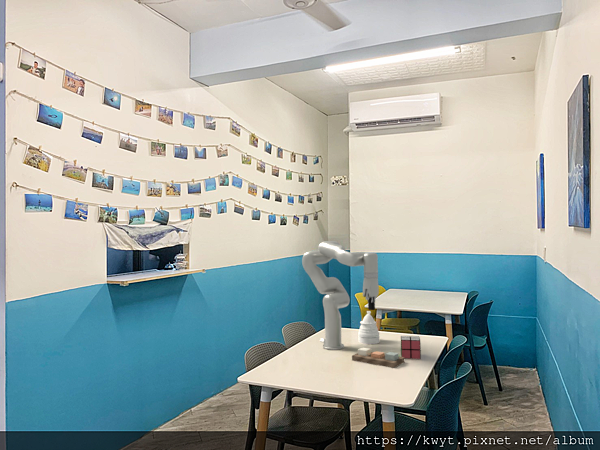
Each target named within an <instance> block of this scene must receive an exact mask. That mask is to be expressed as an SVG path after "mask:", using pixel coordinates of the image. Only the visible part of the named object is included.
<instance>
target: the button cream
mask: <svg viewBox="0 0 600 450" xmlns="http://www.w3.org/2000/svg"><path fill="white" fill-rule="evenodd" d="M371 352H372V348H370V347H369V348H368V347H360V348H358V349H357V353H358V355H362V356H368V355H371Z"/></svg>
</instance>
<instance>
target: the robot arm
mask: <svg viewBox="0 0 600 450" xmlns="http://www.w3.org/2000/svg"><path fill="white" fill-rule="evenodd" d="M378 256H379V255H378V254H377V253H375V252H364V251H361V252H359V251H358V252H350V251H346V248H345V246H344V245H341V244H340V243H339V242H338V241H336V240H324V241H322V242H320V243H319V245H318V248H317V250H310V251H307V252H305V253H303V256H302V259H301V263H302V267H303V269H304V271H305V273H306V274H307V275H308V276H309V278H310V280H311V281H312V283H313V285H314V287H315V288H316V290H317V291H318V293H319V294H321V295H324V296H323V298H322V306H323V312H324V338H323V337H321V338H320V340H319V342H320V343H323V345H322V349H325V350H329V351H331V350H332V351H333V350H334V351H336V350H343V349H344V348H345V344H344V343H342V315H341V313H340V311H339V310H340V309H343V308H346V307H348V306H349V304H350V301H351V300H350V299H351V298H350V296H349V294H348V292H347V290H346V288H345V287H344V286H343V285H344V284H342V282H341V281H340V280H339V279H338V278H337V277H334V276H331V277H328V276H326V275H325V273H324V270H322V268H321V267H319V266H317V265H323V264H324V265H325V264H327V263H329V262H330V261H331V260H333V259H334V260H336V261H338V262H339V263H340V264H342V265H346V266H348V267H363V282H362V297H363V298H365V300H366V301H367V307H368V308H367V309H368V311H374V310H376V299H377V298H378V296H379V291H380V289H379V279H378V278H379V266H378V265H379V263H378V261H379V259H378Z"/></svg>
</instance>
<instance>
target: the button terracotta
mask: <svg viewBox="0 0 600 450" xmlns="http://www.w3.org/2000/svg"><path fill="white" fill-rule="evenodd" d="M372 352H373V353H371V357H373V358H379V359H381V358H383V357H385V356H384V354H385V352H382V351H377V350H376V351H375V350H374V351H372Z"/></svg>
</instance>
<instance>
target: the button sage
mask: <svg viewBox="0 0 600 450" xmlns="http://www.w3.org/2000/svg"><path fill="white" fill-rule="evenodd" d="M384 354H385V360H390V361H396V360H398V359H399V357H400V356H399V353H398V352H392V351H388V352H386V353H384Z"/></svg>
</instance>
